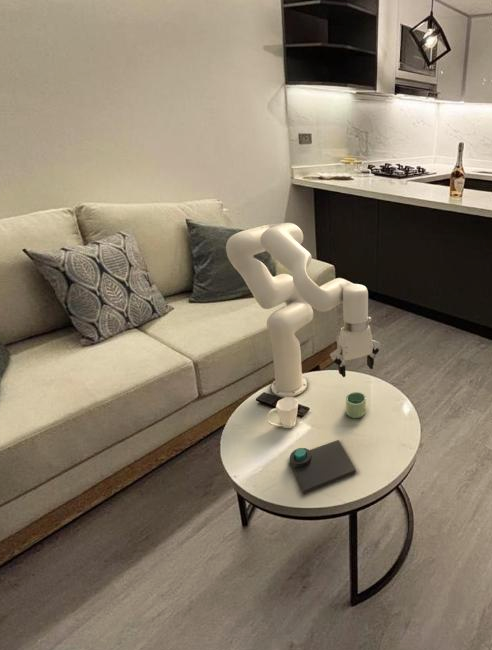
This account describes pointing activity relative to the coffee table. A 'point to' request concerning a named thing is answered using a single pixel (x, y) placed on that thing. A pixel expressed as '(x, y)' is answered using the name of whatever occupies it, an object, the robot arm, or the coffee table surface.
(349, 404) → the green handleless cup
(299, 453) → the tare button
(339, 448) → the scale
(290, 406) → the cup
